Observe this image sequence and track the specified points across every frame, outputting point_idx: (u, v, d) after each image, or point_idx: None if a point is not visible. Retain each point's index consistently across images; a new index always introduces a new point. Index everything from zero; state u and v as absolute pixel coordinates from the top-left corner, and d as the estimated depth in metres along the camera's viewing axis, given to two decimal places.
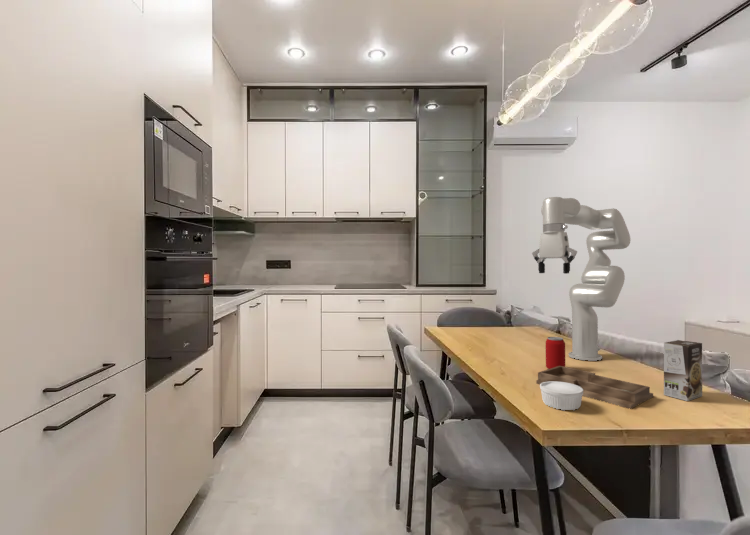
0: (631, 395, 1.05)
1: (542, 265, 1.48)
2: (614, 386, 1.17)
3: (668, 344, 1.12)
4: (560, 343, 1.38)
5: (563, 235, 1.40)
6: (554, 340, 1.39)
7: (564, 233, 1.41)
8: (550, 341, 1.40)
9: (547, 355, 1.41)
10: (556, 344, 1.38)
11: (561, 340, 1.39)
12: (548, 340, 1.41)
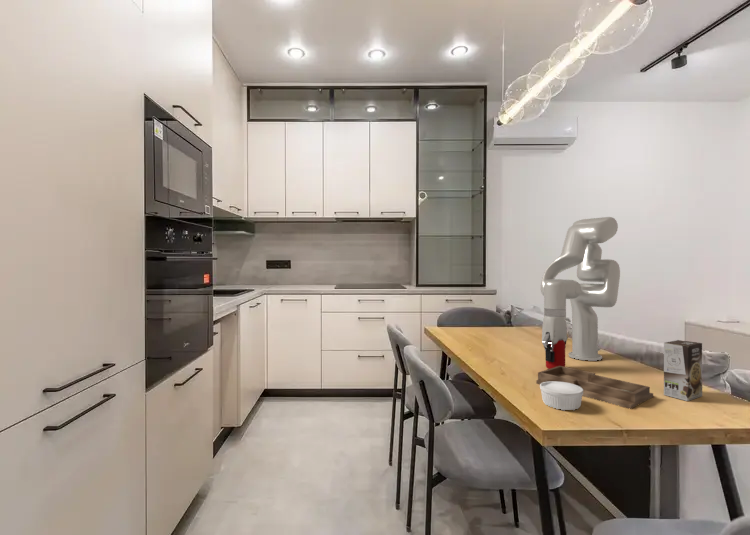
0: (631, 395, 1.05)
1: None
2: (614, 386, 1.17)
3: (668, 344, 1.12)
4: (560, 343, 1.38)
5: None
6: None
7: None
8: (550, 341, 1.40)
9: None
10: (556, 344, 1.38)
11: (561, 340, 1.39)
12: None
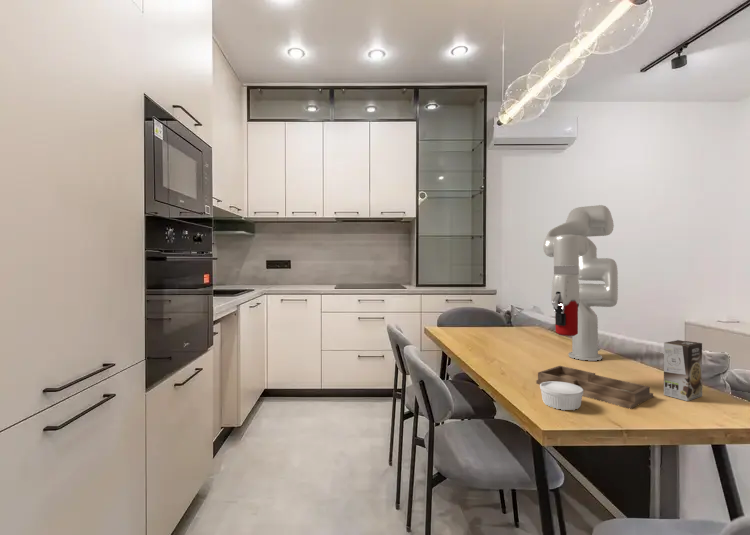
0: (631, 395, 1.05)
1: None
2: (614, 386, 1.17)
3: (668, 344, 1.12)
4: (572, 304, 1.22)
5: None
6: None
7: None
8: None
9: None
10: (567, 305, 1.22)
11: (573, 301, 1.23)
12: None
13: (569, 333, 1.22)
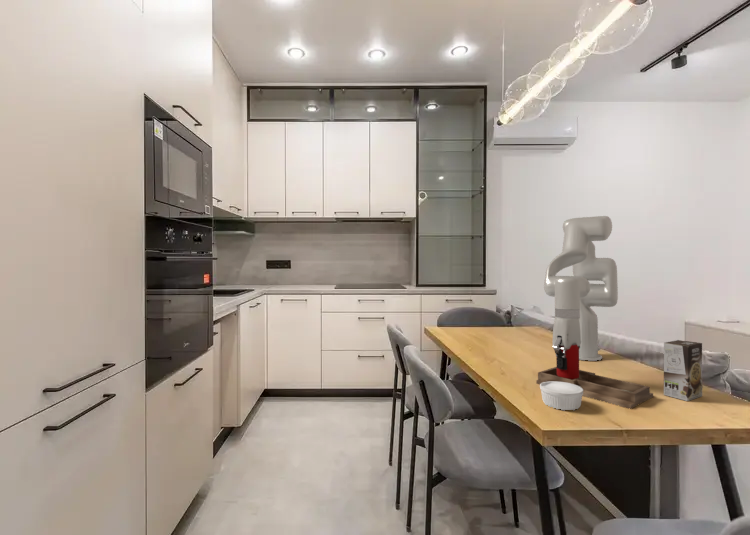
0: (631, 395, 1.05)
1: None
2: (614, 386, 1.17)
3: (668, 344, 1.12)
4: (573, 348, 1.21)
5: None
6: None
7: None
8: (562, 346, 1.23)
9: None
10: (569, 349, 1.21)
11: (574, 345, 1.22)
12: None
13: (570, 377, 1.21)
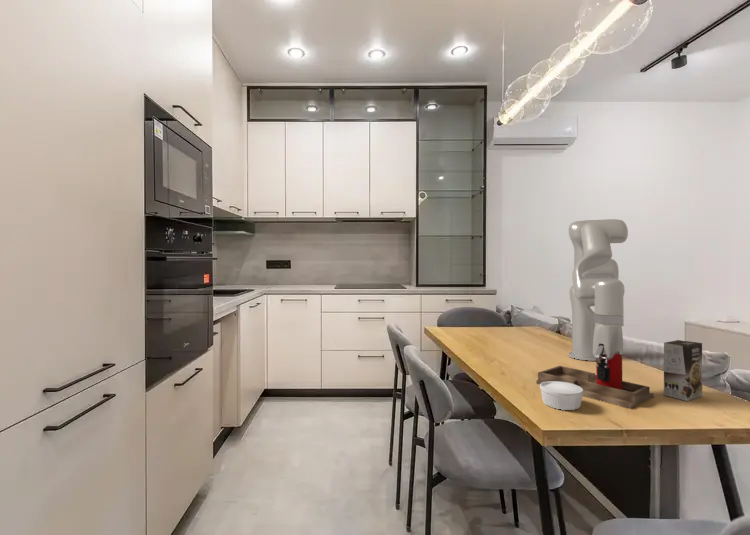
0: (631, 395, 1.05)
1: None
2: None
3: (668, 344, 1.12)
4: (617, 357, 1.11)
5: None
6: None
7: None
8: (603, 355, 1.13)
9: None
10: (612, 359, 1.11)
11: (617, 354, 1.12)
12: None
13: None
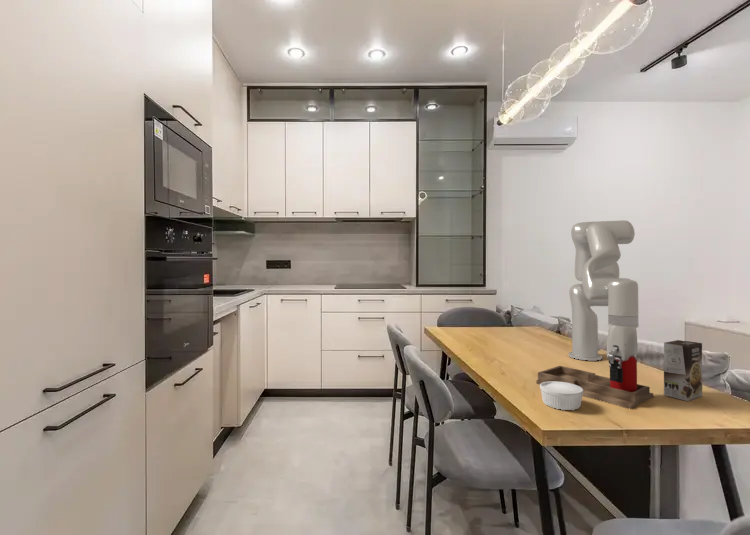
0: (631, 395, 1.05)
1: None
2: None
3: (668, 344, 1.12)
4: (631, 360, 1.08)
5: None
6: None
7: None
8: None
9: None
10: (626, 362, 1.08)
11: (632, 356, 1.09)
12: None
13: None
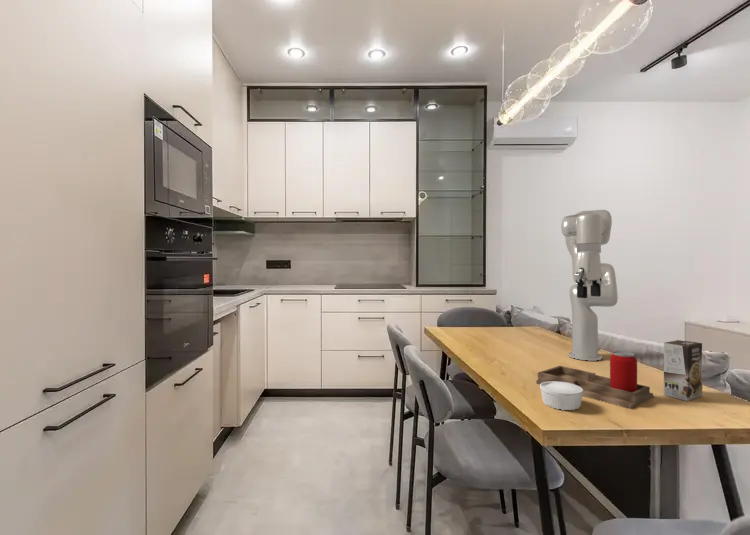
0: (631, 395, 1.05)
1: None
2: None
3: (668, 344, 1.12)
4: (632, 360, 1.08)
5: None
6: (623, 356, 1.09)
7: None
8: (618, 357, 1.09)
9: (613, 375, 1.10)
10: (626, 362, 1.08)
11: (632, 356, 1.09)
12: (615, 356, 1.11)
13: None
